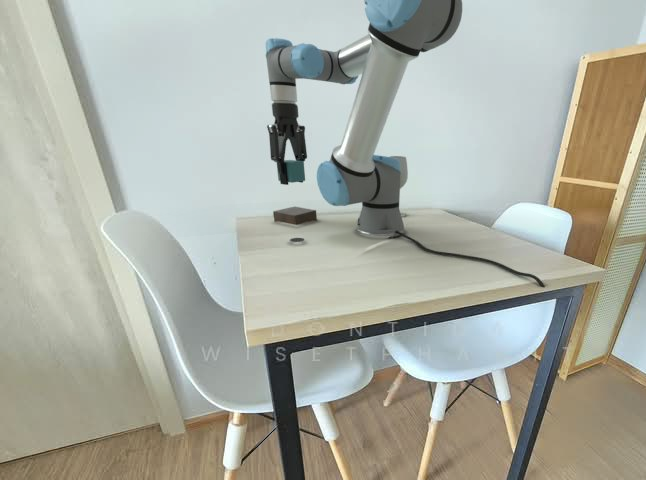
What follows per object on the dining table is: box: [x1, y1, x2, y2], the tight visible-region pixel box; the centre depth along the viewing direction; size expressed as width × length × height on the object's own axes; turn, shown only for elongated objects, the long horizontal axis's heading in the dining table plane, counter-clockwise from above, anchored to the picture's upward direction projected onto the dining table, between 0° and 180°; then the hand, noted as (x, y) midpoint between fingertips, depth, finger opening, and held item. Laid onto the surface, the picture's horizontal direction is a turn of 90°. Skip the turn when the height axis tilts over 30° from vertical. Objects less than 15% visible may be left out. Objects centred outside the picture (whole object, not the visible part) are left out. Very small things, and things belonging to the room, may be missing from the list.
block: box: [276, 159, 306, 184], centre depth 115 cm, size 6×6×6 cm
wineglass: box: [389, 155, 409, 218], centre depth 133 cm, size 8×8×21 cm
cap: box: [289, 237, 305, 243], centre depth 102 cm, size 4×4×1 cm
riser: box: [272, 206, 318, 226], centre depth 122 cm, size 10×10×4 cm
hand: (292, 182), depth 117 cm, fingers closed on block, 6 cm apart
